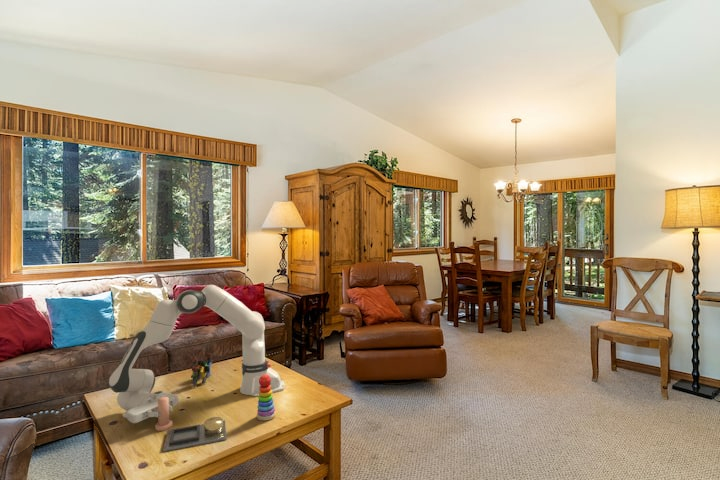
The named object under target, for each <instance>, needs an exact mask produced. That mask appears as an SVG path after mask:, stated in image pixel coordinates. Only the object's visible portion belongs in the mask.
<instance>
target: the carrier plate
mask: <svg viewBox="0 0 720 480" xmlns="http://www.w3.org/2000/svg"><path fill="white" fill-rule="evenodd" d="M226 428H227V427H226V420H224V419H223V417H220V416H213V417H209V418H207V419H206V420H205V421H204V422H203V423H201V424H195V425H194V424H193V425H188V426H184V427H183V426H182V427H177V428H176V427H175V428H172V429H168V430H166V431H167V432H166V434H165V435H166V436H165V440H164V444H163V448H162V449H163V450H162V451H163V452H170V451H174V450H180V449H185V448H190V447H197V446H201V445H206V444H211V443H217V442H222V441H226V440H227V433H226V432H227V430H226Z"/></svg>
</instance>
